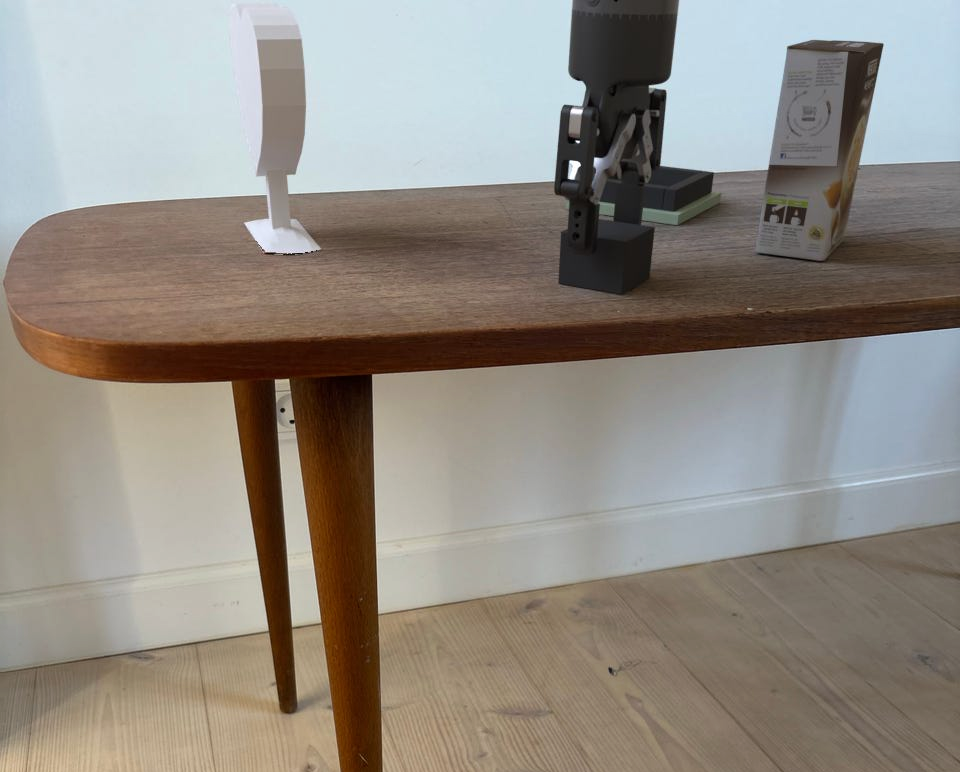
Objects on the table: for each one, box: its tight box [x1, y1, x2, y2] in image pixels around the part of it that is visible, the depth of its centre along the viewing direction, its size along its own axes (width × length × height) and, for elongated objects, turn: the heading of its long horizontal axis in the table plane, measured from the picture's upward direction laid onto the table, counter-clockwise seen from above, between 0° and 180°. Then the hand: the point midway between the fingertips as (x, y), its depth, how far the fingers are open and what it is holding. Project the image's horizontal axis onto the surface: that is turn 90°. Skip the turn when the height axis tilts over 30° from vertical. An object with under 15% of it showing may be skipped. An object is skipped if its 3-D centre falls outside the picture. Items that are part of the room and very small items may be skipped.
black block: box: [557, 218, 655, 295], centre depth 84 cm, size 6×6×4 cm
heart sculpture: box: [228, 2, 322, 254], centre depth 91 cm, size 16×5×18 cm, turn 19°
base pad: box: [565, 165, 722, 226], centre depth 107 cm, size 12×12×3 cm
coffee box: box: [754, 39, 885, 262], centre depth 91 cm, size 9×6×16 cm
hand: (604, 242), depth 84 cm, fingers open, 8 cm apart
